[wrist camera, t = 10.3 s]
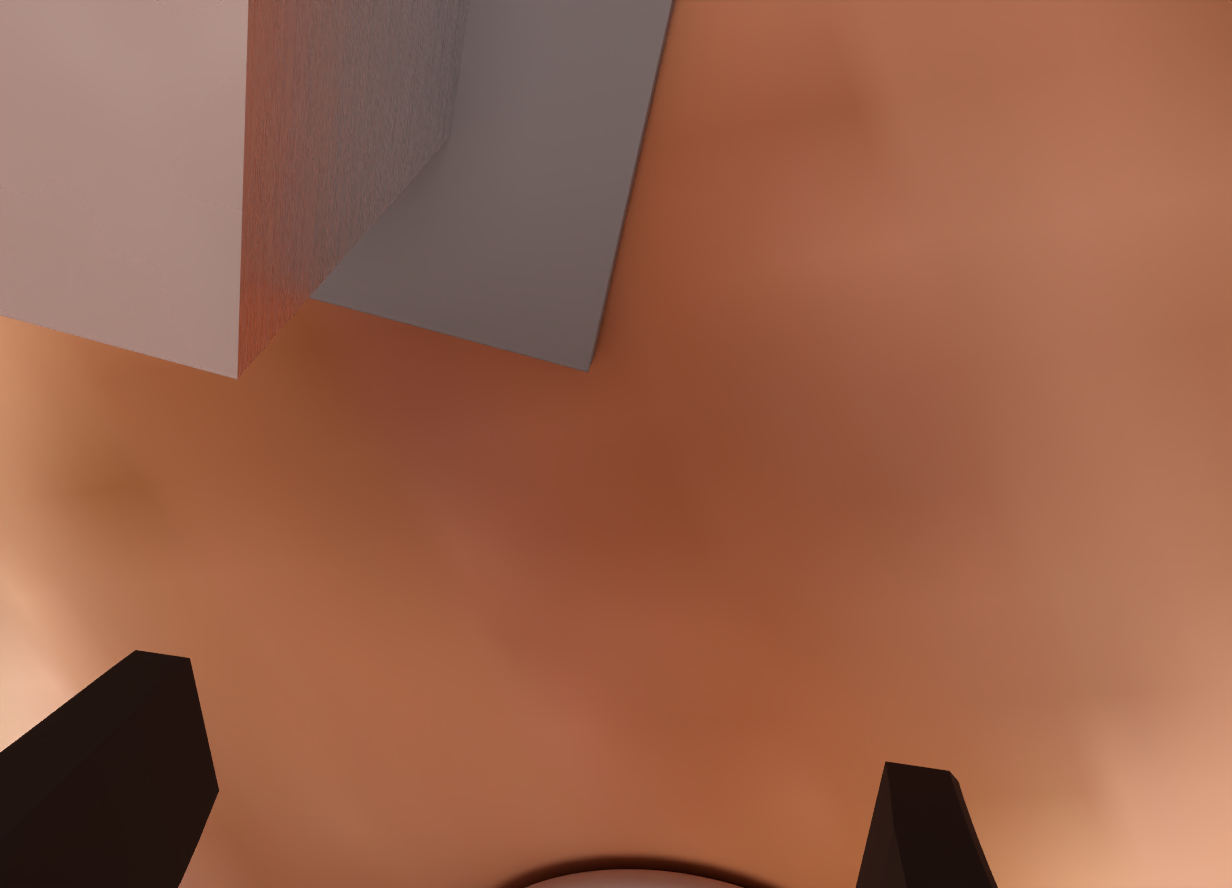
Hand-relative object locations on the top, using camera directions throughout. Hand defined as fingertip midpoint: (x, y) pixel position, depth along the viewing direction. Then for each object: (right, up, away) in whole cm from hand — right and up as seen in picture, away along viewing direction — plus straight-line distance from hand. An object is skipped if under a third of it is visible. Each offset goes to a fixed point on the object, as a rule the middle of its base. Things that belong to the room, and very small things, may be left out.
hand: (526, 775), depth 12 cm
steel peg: (-3, +11, +6) cm, 12 cm away
